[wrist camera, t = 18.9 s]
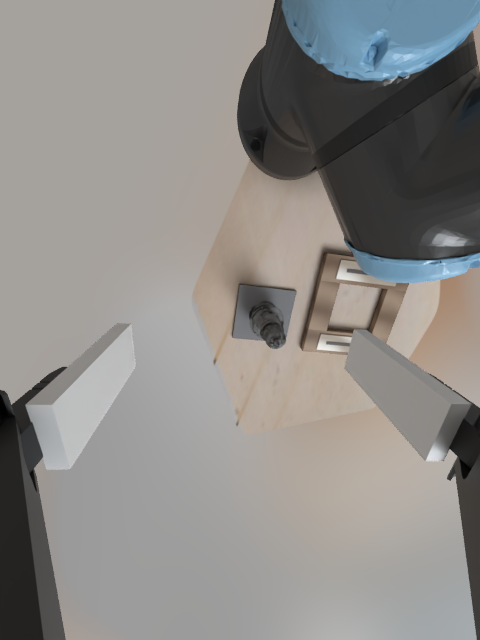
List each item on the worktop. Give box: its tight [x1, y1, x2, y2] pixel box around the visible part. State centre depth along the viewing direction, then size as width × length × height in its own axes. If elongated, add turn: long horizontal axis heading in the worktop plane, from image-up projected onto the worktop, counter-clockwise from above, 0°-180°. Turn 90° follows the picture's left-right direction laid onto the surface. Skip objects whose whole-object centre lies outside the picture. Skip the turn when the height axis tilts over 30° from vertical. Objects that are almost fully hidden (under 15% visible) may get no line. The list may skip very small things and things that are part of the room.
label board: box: [301, 253, 409, 355], centre depth 43 cm, size 18×16×2 cm
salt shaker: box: [249, 301, 286, 349], centre depth 37 cm, size 6×6×12 cm
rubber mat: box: [233, 284, 296, 341], centre depth 43 cm, size 10×10×1 cm
